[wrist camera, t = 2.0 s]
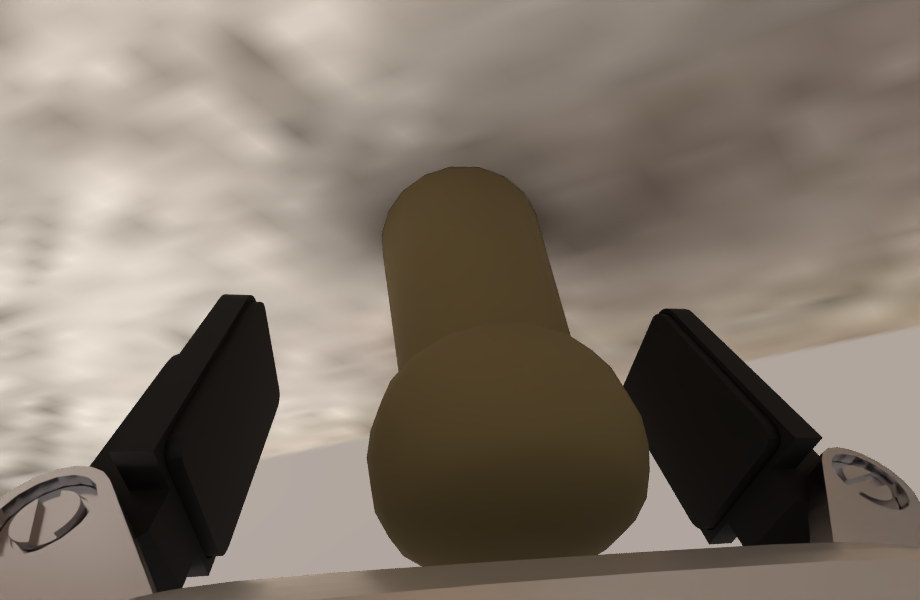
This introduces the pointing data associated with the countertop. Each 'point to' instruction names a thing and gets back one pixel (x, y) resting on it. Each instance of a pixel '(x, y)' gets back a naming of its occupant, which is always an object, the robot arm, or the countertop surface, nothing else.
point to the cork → (493, 391)
